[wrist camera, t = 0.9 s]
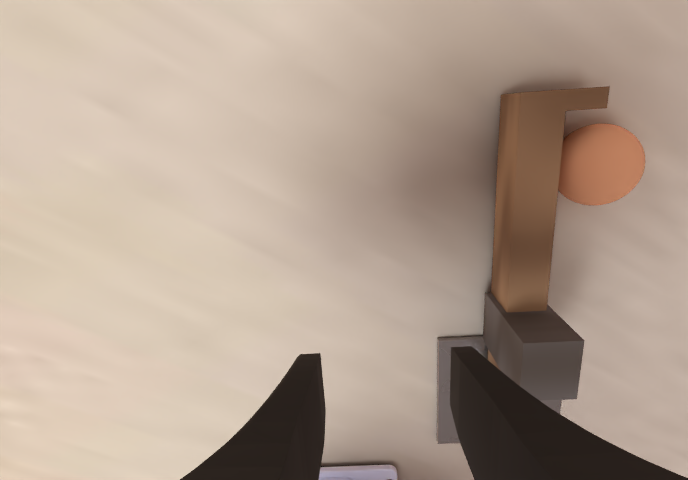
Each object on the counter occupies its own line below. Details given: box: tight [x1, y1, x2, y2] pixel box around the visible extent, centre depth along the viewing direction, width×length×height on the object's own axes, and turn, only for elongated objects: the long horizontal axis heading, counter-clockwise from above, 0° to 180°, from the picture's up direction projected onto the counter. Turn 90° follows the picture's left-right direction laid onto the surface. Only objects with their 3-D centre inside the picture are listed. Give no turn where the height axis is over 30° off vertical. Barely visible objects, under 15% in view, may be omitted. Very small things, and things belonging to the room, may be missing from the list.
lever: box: [483, 86, 610, 401], centre depth 18 cm, size 14×4×5 cm, turn 4°
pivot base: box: [437, 336, 561, 444], centre depth 22 cm, size 7×7×4 cm
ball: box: [558, 124, 645, 205], centre depth 18 cm, size 4×4×4 cm
